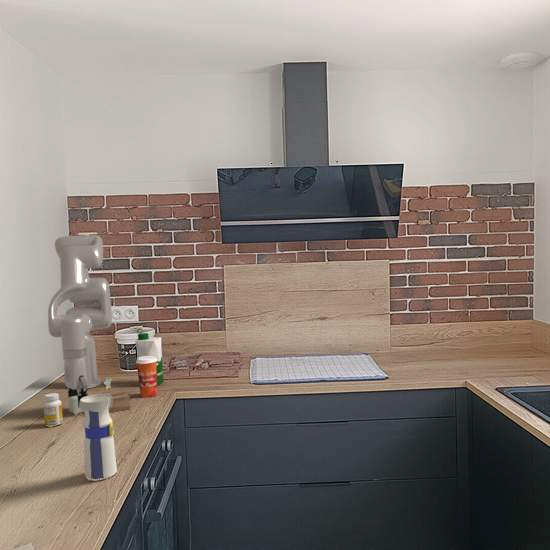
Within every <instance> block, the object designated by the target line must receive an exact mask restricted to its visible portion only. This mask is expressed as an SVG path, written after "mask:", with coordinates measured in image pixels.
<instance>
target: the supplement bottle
mask: <svg viewBox="0 0 550 550" xmlns="http://www.w3.org/2000/svg"><path fill="white" fill-rule="evenodd" d="M44 399H45V402H44V403H43V413H44V414H43V417H44V425H49V426H51V425H58V424H61V423H63V424H64V418H63V403H62V401H61V400H60V396H59V393H56V392H54V393H53V392H52V393H48V394H45V395H44Z"/></svg>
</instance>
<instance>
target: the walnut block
mask: <svg viewBox="0 0 550 550" xmlns="http://www.w3.org/2000/svg"><path fill="white" fill-rule="evenodd" d="M102 394H109V395H111V396H112V398H113V405H112V408H111V407H109V413H113V414H115V413H114V412H118V413H120V412H119V411H123V412H126V411H125V410H128V411H131V398H130V395H129V394H127V393H125V392H124V391H122V390H115V391H109V392H103V393H102Z"/></svg>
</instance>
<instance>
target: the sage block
mask: <svg viewBox="0 0 550 550" xmlns="http://www.w3.org/2000/svg"><path fill="white" fill-rule="evenodd" d="M78 396H79V395H77V396H72V397H68V396H67V397H68V411H69V410H70V411H71V412H73V413H78V412H84V409H81V408H79V407H78ZM71 412H70V413H71Z"/></svg>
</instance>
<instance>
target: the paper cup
mask: <svg viewBox="0 0 550 550" xmlns="http://www.w3.org/2000/svg"><path fill="white" fill-rule="evenodd" d="M156 361H158V360H157V358H155V356H143V357H139V358H138V357H137V358H136V361H135V363H136V367H137V376H138V386H139V391H140V393H139V394H140V397H142V398H143V397H149V398H153V397H152V396H154V397H156V396H157V393H158V391H157V376H156ZM155 395H156V396H155Z"/></svg>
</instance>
